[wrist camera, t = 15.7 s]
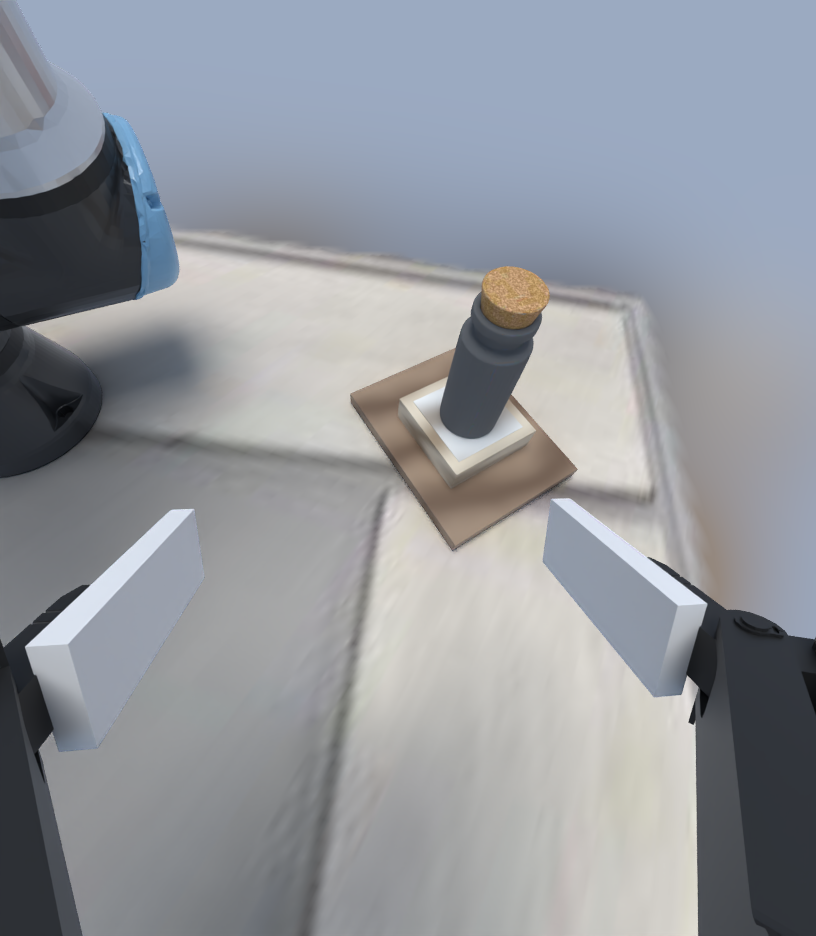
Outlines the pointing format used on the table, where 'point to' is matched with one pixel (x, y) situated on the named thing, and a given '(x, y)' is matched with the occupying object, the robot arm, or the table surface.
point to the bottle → (492, 350)
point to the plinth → (459, 452)
